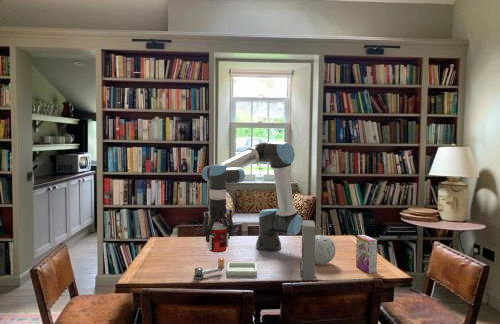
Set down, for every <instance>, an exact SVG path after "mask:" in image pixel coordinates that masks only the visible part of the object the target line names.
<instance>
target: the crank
mask: <svg viewBox="0 0 500 324" xmlns="http://www.w3.org/2000/svg"><path fill="white" fill-rule="evenodd" d="M224 269H225V259H224V258H223V257H222V258H221V257H219V258H217V266H216V267H213V268H206V269H203V268H202V267H195V268H194V275H195V276H196V277H200V276H202V275H203V276H204V275H208V274H212V273H213V274H214V273H218V272H221V271H223V270H224Z"/></svg>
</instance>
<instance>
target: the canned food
mask: <svg viewBox="0 0 500 324" xmlns="http://www.w3.org/2000/svg"><path fill="white" fill-rule="evenodd" d="M210 235H212V250H209V251H210V252H212V253H214V254H215V253H217V254H218V253H223V252H224V253H225V252H226V251H227V248H228V247H227V227H226V226H224V225H223V224H214V225H213V227H212V230H211V233H210Z"/></svg>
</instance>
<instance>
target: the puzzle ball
mask: <svg viewBox="0 0 500 324" xmlns="http://www.w3.org/2000/svg"><path fill="white" fill-rule="evenodd" d="M335 255H336V246H335V243H334V242H333V240H332V239H331V238H330V237H328V236H326V235H323V234H318V235H315V264H316V265H320V266H324V265H326V264H329V263H330V262H331V261H333V259H334V258H335Z"/></svg>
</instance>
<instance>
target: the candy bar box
mask: <svg viewBox="0 0 500 324" xmlns="http://www.w3.org/2000/svg"><path fill="white" fill-rule="evenodd" d="M355 245H356V246H355V247H356V249H355V251H356V252H355V254H356V255H355V259H356V261H355V266H356V267H357V268H358V269H360V270H362V271H364V272H365V273H366V274H375V273H377V269H378V267H377V263H378V262H377V260H378V240H377V239H375V238H373V237H371V236H368V235H366V234H357V235H356V244H355Z"/></svg>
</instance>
